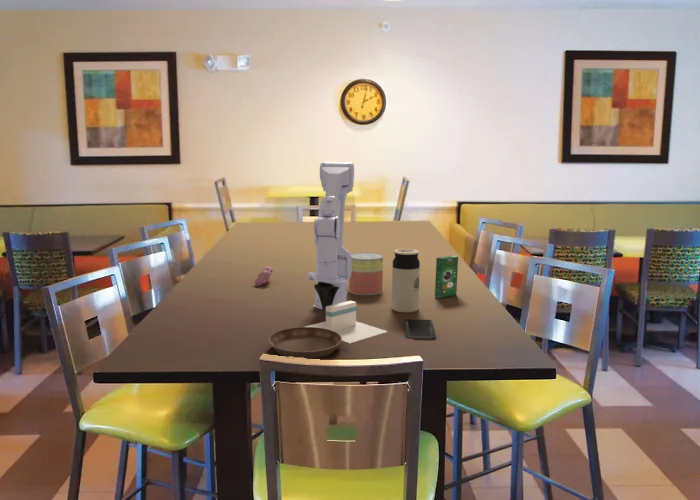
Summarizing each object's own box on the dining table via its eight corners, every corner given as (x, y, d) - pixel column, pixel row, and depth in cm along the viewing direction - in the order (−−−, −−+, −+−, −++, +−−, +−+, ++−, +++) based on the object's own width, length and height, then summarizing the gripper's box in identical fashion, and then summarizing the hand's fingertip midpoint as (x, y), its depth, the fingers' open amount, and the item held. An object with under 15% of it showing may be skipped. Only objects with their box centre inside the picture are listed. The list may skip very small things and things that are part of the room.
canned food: (389, 292, 208) (390, 257, 205) (361, 297, 201) (362, 260, 199) (369, 285, 217) (369, 251, 214) (342, 289, 210) (342, 255, 208)
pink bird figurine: (264, 290, 215) (273, 273, 214) (252, 284, 215) (261, 267, 213) (268, 283, 225) (276, 267, 224) (256, 278, 224) (265, 261, 223)
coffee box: (450, 293, 207) (452, 254, 204) (457, 295, 205) (459, 255, 202) (434, 297, 202) (435, 257, 199) (440, 298, 200) (442, 258, 197)
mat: (304, 328, 168) (304, 326, 168) (342, 318, 178) (342, 316, 178) (349, 344, 156) (349, 343, 156) (388, 332, 165) (388, 331, 165)
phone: (405, 336, 160) (403, 319, 175) (405, 340, 160) (403, 322, 175) (436, 336, 160) (432, 319, 174) (436, 341, 160) (432, 323, 175)
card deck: (325, 329, 166) (325, 306, 165) (350, 322, 172) (350, 300, 171) (331, 331, 164) (331, 308, 163) (356, 324, 170) (356, 302, 169)
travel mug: (386, 309, 187) (387, 250, 184) (402, 304, 193) (404, 247, 189) (407, 315, 181) (408, 254, 178) (423, 309, 187) (425, 250, 184)
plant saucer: (350, 358, 147) (350, 346, 146) (275, 366, 142) (275, 353, 141) (331, 335, 163) (331, 324, 163) (263, 341, 158) (263, 330, 158)
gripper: (298, 258, 171) (299, 306, 174) (333, 267, 161) (333, 317, 164) (318, 255, 176) (318, 302, 179) (353, 263, 166) (353, 312, 168)
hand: (326, 309), depth 171 cm, fingers closed
